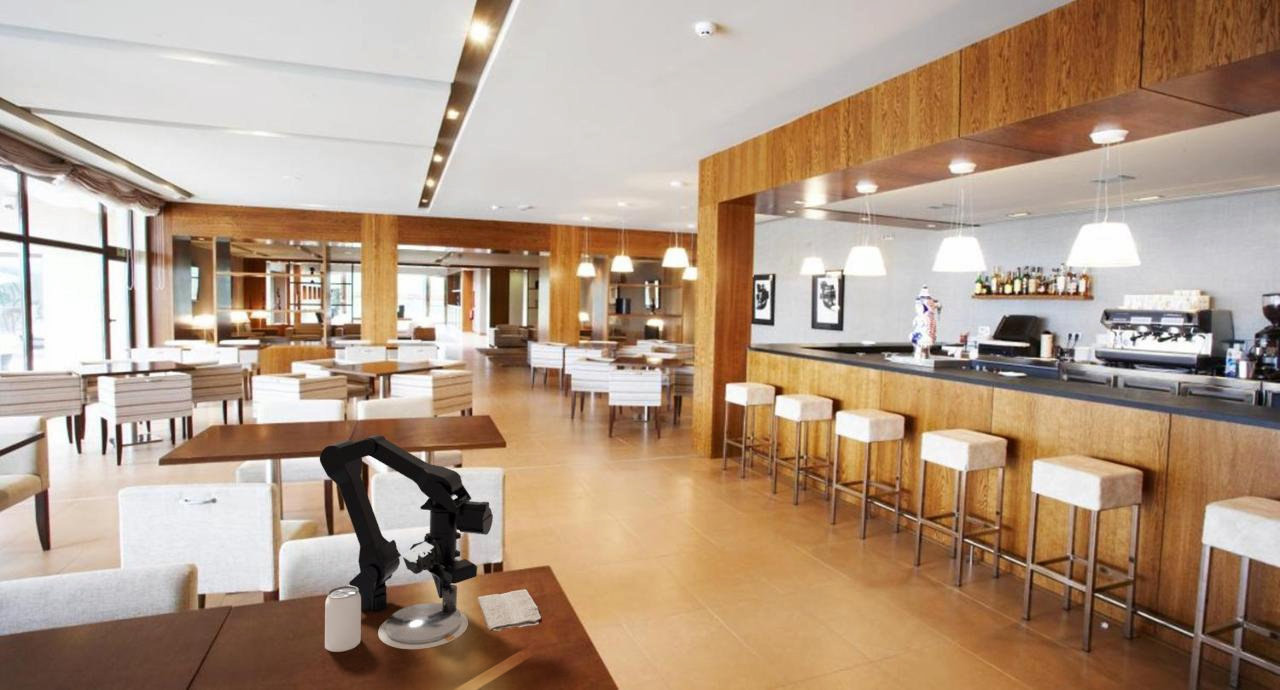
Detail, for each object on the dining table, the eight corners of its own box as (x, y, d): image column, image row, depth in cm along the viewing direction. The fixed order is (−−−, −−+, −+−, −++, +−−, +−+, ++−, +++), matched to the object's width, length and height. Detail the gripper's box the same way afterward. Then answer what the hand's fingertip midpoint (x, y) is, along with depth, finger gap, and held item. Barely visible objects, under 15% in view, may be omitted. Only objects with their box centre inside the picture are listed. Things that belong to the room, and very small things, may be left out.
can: (346, 661, 126) (347, 600, 125) (317, 656, 127) (317, 596, 126) (367, 644, 132) (368, 586, 131) (339, 640, 133) (339, 583, 133)
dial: (409, 652, 127) (409, 620, 126) (372, 625, 137) (373, 595, 136) (474, 626, 138) (475, 596, 137) (437, 603, 148) (437, 575, 147)
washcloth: (489, 642, 136) (490, 627, 136) (474, 605, 152) (474, 592, 152) (545, 632, 141) (545, 618, 140) (524, 597, 157) (525, 585, 157)
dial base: (359, 637, 135) (360, 628, 135) (431, 605, 150) (431, 598, 150) (414, 666, 125) (415, 657, 125) (485, 629, 140) (485, 621, 140)
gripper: (387, 526, 143) (386, 594, 144) (432, 552, 130) (430, 626, 132) (433, 514, 151) (432, 579, 152) (479, 538, 138) (477, 608, 140)
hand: (441, 597), depth 144 cm, fingers closed
